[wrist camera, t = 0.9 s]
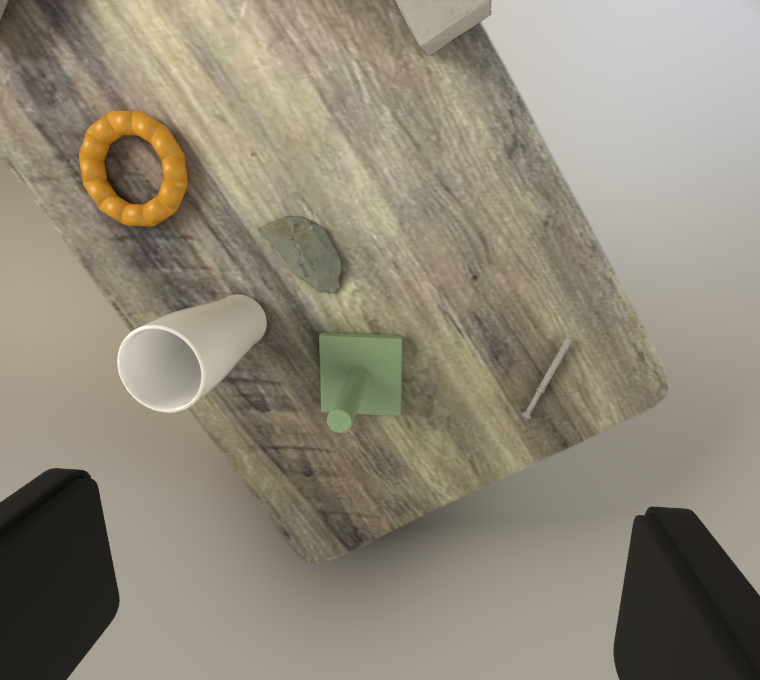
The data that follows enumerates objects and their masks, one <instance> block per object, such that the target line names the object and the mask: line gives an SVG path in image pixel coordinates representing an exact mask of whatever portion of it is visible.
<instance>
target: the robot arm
mask: <svg viewBox="0 0 760 680" xmlns="http://www.w3.org/2000/svg"><path fill="white" fill-rule="evenodd" d="M119 601H120V600H119V592H118V587H117V582H116V577H115V572H114V567H113V561H112V556H111V551H110V546H109V541H108V536H107V531H106V525H105V520H104V515H103V510H102V505H101V500H100V494H99V489H98V485H97V483H96V482H95V481H94V480H93V479H91V476H90V475H89V474H88V473H87V472H86V471H84V470H76V469H61V468H53V469H49V470H47V471H45V472H43V473H42V474H41V475H39V476H38V477H36V478H35V479H33V480H32V481H31V482H29V483H28V484H26V485H25V486H23V487H22V488H20V489H19V490H18V491H16V492H15V493H13V494H12V495H10V496H9V497H7V498H6V499H5V500H3V501H2V502H0V680H67V678H68V677H69V676H70V674H71V673H72V672H73V671H74V669H75V668H76V667H77V665H78V664H79V663H80V662H81V660H82V659H83V658H84V657H85V655H86V654H87V652H88V651H89V650H90V649H91V648H92V646H93V645H94V644H95V642H96V641H97V640H98V639H99V637H100V636H101V635H102V633H103V632H104V631H105V629H106V628H107V627H108V626H109V624H110V623H111V622H112V620H113V619H114V617H115V615H116V613H117V610H118V607H119ZM614 662H615V667H616V671H617V674H618V677H619V680H760V596H759V594H758V593H757V592H756V591H755V590H754V588H753V587H752V585H751V584H750V583H749V582H748V581H747V579H746V578H745V577H744V575H743V574H742V573H741V572H740V571H739V569H738V568H737V566H736V565H735V564H734V563H733V561H732V560H731V559H730V557H729V556H728V555H727V554H726V552H725V551H724V550H723V549H722V548H721V546H720V545H719V543H718V542H717V541H716V540H715V539H714V537H713V536H712V535H711V533H710V532H709V531H708V530H707V528H706V527H705V526H704V524H703V523H702V522H701V521H700V520H699V518H698V517H697V515H696V514H695V513H694V512H693V511H692V510H689V509H682V508H666V507H649V508H648V509H647V511H646V513H645V516H644V515H638V516H636V517H635V519H634V522H633V528H632V534H631V541H630V547H629V553H628V560H627V565H626V572H625V578H624V585H623V590H622V598H621V603H620V610H619V616H618V622H617V628H616V635H615V641H614Z"/></svg>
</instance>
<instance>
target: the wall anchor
mask: <svg viewBox="0 0 760 680" xmlns="http://www.w3.org/2000/svg"><path fill="white" fill-rule="evenodd" d="M571 342H572V339H571V338H570V337H567V339H566V340H565V342H564V343H563V346H562V347H561V349H560V350H559V353H558V354H557V356H556V358H555V359H554V361H553V363H552V365H551V366H550V368H549V370H548V372H547V373H546V375H545V377H544V379H543V381H542V382H541V385H540V386H539V387H538V388H536V389H537V393H536V394H535V396H534V398H533V400H532V401H531V403H530V405H529V407H528V408H527V410H526V411H525V412H522V413H521V415H522V416H524V417H525V418H527V419H531V415H530V413H531V411H532V409H533V408H534V406H535V404H536V402H537V401H538V399H539V397H540V395H541V393H544V390H545V388H546V386H547V384H548V383H549V381H550V379H551V377H552V375H553V374H554V372H555V370H556V368H557V367H558V365H559V363H560V361H561V359H562V358H563V356H564V354H565V352H566V350H567V349H568V347H569V345H570V343H571Z"/></svg>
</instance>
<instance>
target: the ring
mask: <svg viewBox="0 0 760 680" xmlns="http://www.w3.org/2000/svg"><path fill="white" fill-rule="evenodd" d="M122 135H138V136H140V137H141V138H143V139H144V140H146V141H148V142H149V143H151V144H152V145H153V147H154V149H155V150H156V152H157V153H158V155H159V157H160V158H161V160H162V167H163V176H164V181H163V183H162V186H161V188H160V191H159V193H158V196H157V197H155V198H154V199H152V200H151V201H149V202H148V203H146V204H130V203H128V202H127V201H125V200H124V199H122V198H120V197H119V196H117V194H116V193H115V191H114V190H113V188H112V187H111V185H110V184H109V182H108V181H107V176H106V169H105V162H104V161H105V158H106V155H107V152H108V150H109V147H110V144H112V143H113V142H114V141H116V140H117V139H118V138H120V137H121V136H122ZM79 160H80V166H81V173H82V179H83V184H84V186H85V188H86V189H87V191H88V192H89V194H90V195H91V197H92V198H93V200H94V201H95V203H96V205H97V206H98V208H99V209H100V210H101V211H102V212H104V213H106V214H107V215H109V216H111V217H112V218H114V219H116V220H117V221H119V222H121V223H122V224H124V225H127V226H155V225H157V224H159V223H160V222H162V221H163V220H165V219H166V218H168V217H169V216H171V215H172V214H174V213H175V212H176V211H177V210H178V208H179V206H180V203H181V201H182V199H183V196H184V194H185V192H186V189H187V186H188V180H187V170H186V160H185V155H184V153H183V151H182V149H181V148H180V146H179V145H178V143H177V141H176V140H175V138H174V136H173V135H172V133H171V131H170V130H169V129H168V128H167V127H166V126H165V125H163V124H161V123H160V122H158V121H157V120H155V119H153V118H152V117H150V116H148V115H147V114H145V113H143V112H141V111H111V112H108V113H107V114H106V115H104V116H103V117H102V118H100V119H99V120H98V121H96V122H95V123H94V124H93V125H91V126H90V127H89V128H88V130H87V132H86V135H85V138H84V141H83V144H82V147H81V150H80V153H79Z"/></svg>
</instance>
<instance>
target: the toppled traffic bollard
mask: <svg viewBox="0 0 760 680" xmlns="http://www.w3.org/2000/svg"><path fill="white" fill-rule="evenodd" d="M395 1H396V3H397V5H398V7H399V9H400V11H401V13H402V15H403V17H404V19H405V21H406V23H407V24H408V26H409V28H410V30H411V32H412V33H413V35H414V36H415V39H416V41H417V43H418V44H419V46H420V47H421V48H422V49H423V50H424V52H425V53H426V54H427V55H428V56H429V55H432V54H433V53H435V52H436V51H438V50H439V49H440V48H442V47H443V46H445V45H446V44H448V43H449V42H451V41H452V40H454V39H455V38H457V37H458V36H460V35H461V34H463V33H464V32H466V31H467V30H469V29H470V28H472V27H473V26H475V25H476V24H478V23H480V22H481V21H483V20H484V19H485V18H487V17H488V16H490V15H491V0H395Z"/></svg>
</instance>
